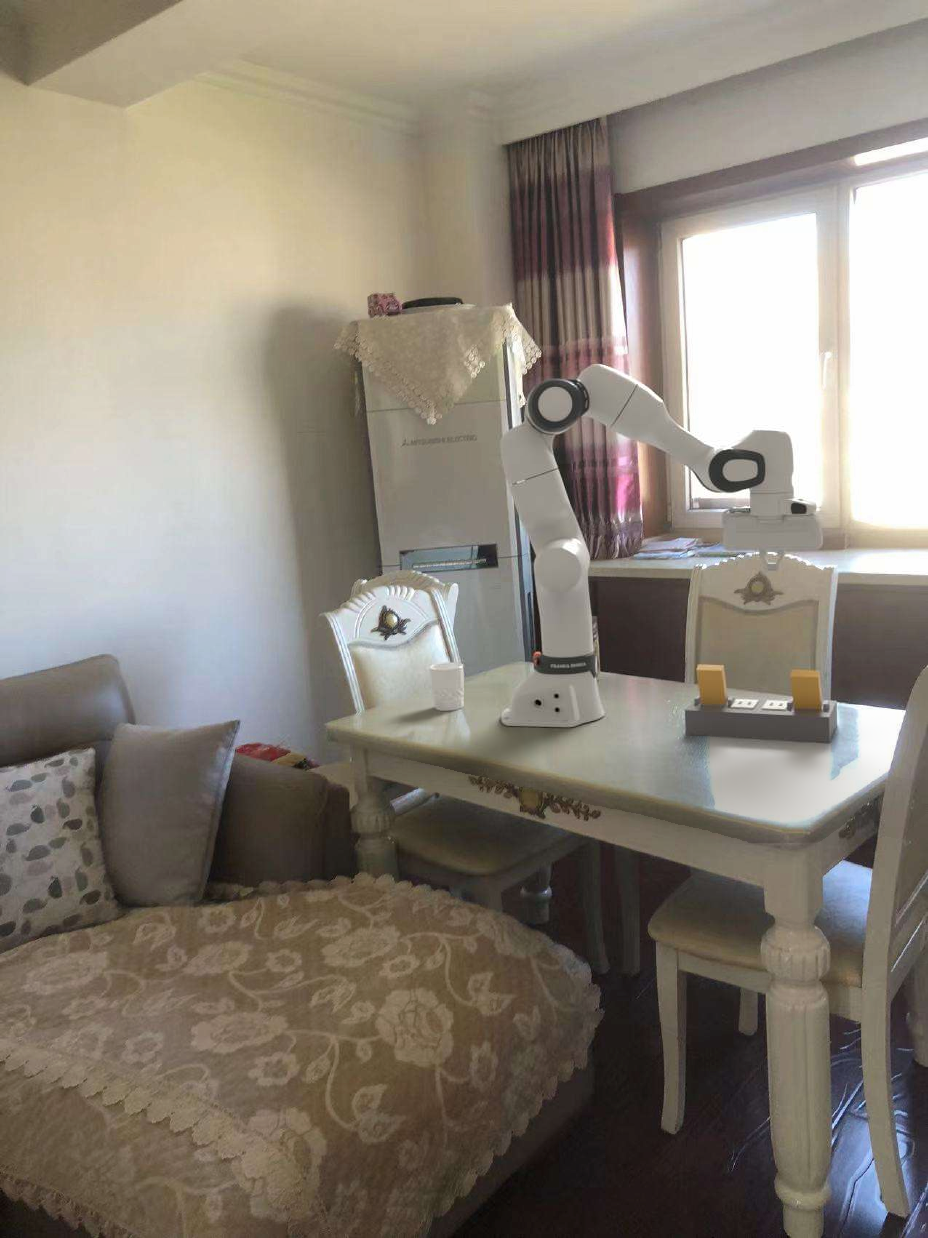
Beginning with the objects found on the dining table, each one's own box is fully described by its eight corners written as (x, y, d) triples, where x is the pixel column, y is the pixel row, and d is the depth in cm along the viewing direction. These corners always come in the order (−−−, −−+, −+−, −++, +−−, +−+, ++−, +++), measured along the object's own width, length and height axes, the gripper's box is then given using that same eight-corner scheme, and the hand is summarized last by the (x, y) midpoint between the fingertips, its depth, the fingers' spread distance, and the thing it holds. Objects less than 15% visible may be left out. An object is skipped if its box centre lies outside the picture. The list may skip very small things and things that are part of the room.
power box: (685, 734, 197) (684, 704, 196) (700, 718, 208) (699, 689, 207) (829, 743, 185) (829, 710, 184) (837, 725, 196) (836, 694, 195)
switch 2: (794, 707, 192) (790, 676, 188) (795, 701, 193) (791, 669, 189) (821, 709, 190) (818, 677, 185) (822, 702, 191) (819, 670, 187)
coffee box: (594, 687, 241) (590, 622, 238) (568, 687, 243) (564, 622, 240) (601, 678, 249) (598, 615, 247) (576, 678, 251) (572, 615, 249)
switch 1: (700, 703, 200) (696, 669, 197) (703, 697, 202) (698, 664, 198) (726, 704, 198) (721, 670, 194) (727, 698, 199) (723, 665, 196)
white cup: (430, 712, 229) (426, 670, 228) (435, 703, 237) (432, 663, 235) (464, 711, 228) (460, 668, 227) (468, 702, 236) (464, 661, 234)
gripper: (718, 508, 211) (719, 573, 213) (820, 505, 202) (820, 573, 204) (725, 506, 217) (726, 569, 219) (824, 503, 207) (824, 569, 210)
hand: (772, 571), depth 211 cm, fingers closed
